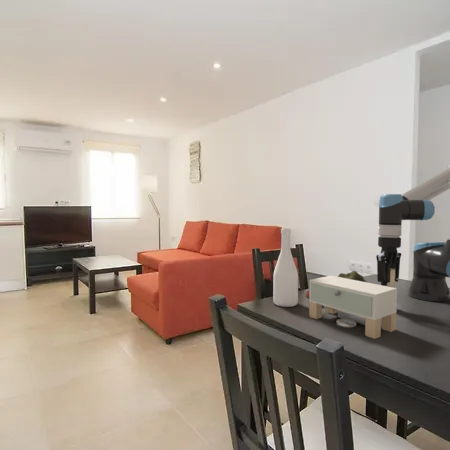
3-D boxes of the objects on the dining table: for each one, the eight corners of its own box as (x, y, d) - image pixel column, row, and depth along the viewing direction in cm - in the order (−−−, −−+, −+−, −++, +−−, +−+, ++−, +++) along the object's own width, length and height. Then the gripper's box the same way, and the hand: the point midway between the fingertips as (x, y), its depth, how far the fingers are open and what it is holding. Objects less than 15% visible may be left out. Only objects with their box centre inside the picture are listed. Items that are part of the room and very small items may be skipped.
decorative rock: (380, 299, 142) (383, 276, 141) (351, 301, 136) (355, 277, 135) (354, 288, 156) (357, 267, 154) (327, 289, 150) (330, 267, 148)
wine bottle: (282, 308, 125) (282, 229, 123) (268, 302, 134) (268, 227, 132) (302, 305, 129) (303, 228, 127) (288, 299, 137) (289, 227, 136)
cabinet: (330, 310, 123) (331, 275, 122) (396, 329, 103) (396, 288, 102) (306, 317, 115) (306, 280, 114) (371, 340, 95) (372, 295, 94)
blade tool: (378, 304, 129) (380, 265, 128) (405, 310, 121) (406, 269, 120) (337, 316, 114) (338, 273, 113) (364, 325, 106) (365, 278, 105)
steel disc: (351, 321, 111) (351, 318, 111) (359, 328, 105) (359, 324, 105) (333, 321, 111) (333, 318, 111) (340, 328, 105) (340, 325, 105)
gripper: (391, 234, 130) (389, 293, 131) (367, 236, 120) (365, 300, 122) (411, 236, 124) (408, 298, 125) (387, 238, 114) (385, 305, 115)
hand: (387, 299), depth 123 cm, fingers closed on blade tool, 3 cm apart
